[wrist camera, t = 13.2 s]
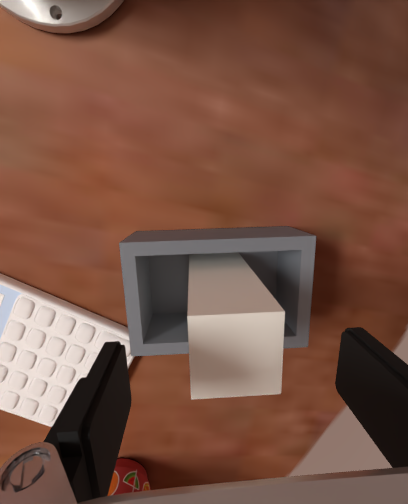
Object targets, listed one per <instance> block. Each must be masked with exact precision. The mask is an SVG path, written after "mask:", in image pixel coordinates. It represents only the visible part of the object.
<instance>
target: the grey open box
mask: <svg viewBox="0 0 408 504" xmlns="http://www.w3.org/2000/svg"><path fill="white" fill-rule="evenodd" d="M119 246H120V256H121V265H122V275H123V284H124V294H125V303H126V313H127V322H128V332H129V341H130V351H131V356H149V355H167V354H186V353H189V341H188V320H187V311H188V282H189V254H208V253H234V252H238V253H239V254H240V255H241V256H242V258H243V259H244V260H245V262H246V263H247V264H248V265H249V267H250V268H251V269H252V270H253V272H254V273H255V274H256V275H257V277H258V278H259V279H260V280H261V282H262V283H263V284H264V286H265V287H266V288H267V289H268V291H269V292H270V293H271V294H272V296H273V297H274V298H275V299H276V301H277V302H278V303H279V304H280V306H281V307H282V308H283V310H284V311H285V321H284V342H283V348H298V347H308V339H309V326H310V313H311V299H312V286H313V273H314V259H315V246H316V236H315V235H312V234H309V233H306V232H304V231H301V230H298V229H295V228H292V227H289V226H278V227H248V228H218V229H188V230H159V231H136V232H134V233H133V234H131V235H130V236H128V237H127V238H125V239H124V240H122V241H121V242H120V243H119Z"/></svg>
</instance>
